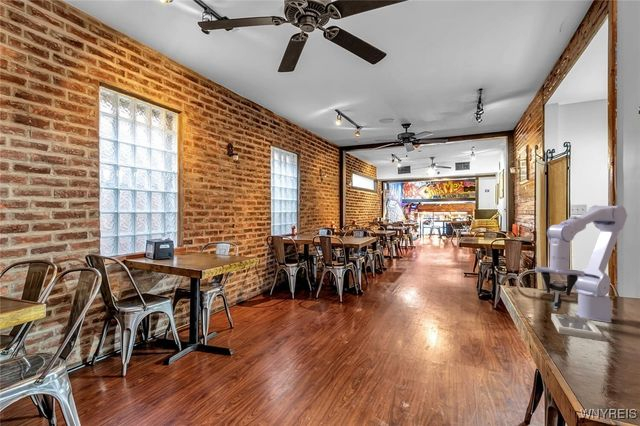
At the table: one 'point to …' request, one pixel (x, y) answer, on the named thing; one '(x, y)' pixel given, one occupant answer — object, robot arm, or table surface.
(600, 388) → the table surface
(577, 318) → the pin tray
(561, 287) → the push button
